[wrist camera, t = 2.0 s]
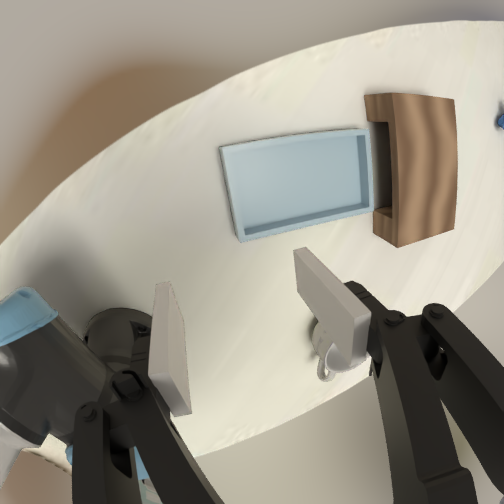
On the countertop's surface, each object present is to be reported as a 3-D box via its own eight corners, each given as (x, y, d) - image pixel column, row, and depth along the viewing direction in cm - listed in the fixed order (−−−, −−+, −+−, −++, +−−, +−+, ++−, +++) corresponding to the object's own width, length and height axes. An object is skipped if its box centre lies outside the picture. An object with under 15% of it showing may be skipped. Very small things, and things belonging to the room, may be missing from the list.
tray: (235, 235, 39) (240, 242, 37) (218, 146, 34) (222, 147, 32) (362, 206, 42) (373, 211, 39) (357, 128, 37) (368, 129, 34)
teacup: (333, 288, 47) (357, 314, 40) (368, 311, 51) (391, 335, 44) (283, 348, 50) (298, 379, 42) (322, 363, 54) (338, 391, 47)
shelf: (373, 233, 44) (397, 247, 39) (364, 95, 35) (391, 92, 29) (429, 217, 46) (453, 229, 41) (426, 98, 37) (453, 99, 31)
